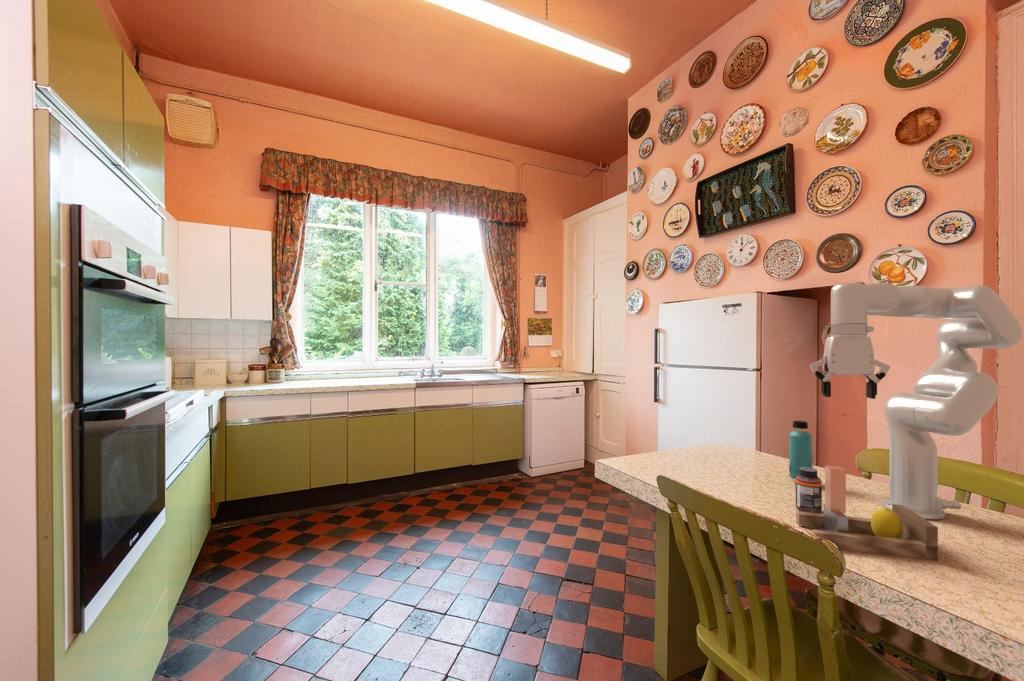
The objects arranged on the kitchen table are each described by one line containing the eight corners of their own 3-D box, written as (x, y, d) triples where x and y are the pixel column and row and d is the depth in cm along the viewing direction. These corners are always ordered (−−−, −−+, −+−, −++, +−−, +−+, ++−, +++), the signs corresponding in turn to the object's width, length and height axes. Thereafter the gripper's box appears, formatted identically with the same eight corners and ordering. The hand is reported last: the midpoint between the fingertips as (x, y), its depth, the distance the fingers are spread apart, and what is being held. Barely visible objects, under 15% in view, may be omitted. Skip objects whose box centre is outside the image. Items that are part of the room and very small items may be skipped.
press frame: (902, 534, 103) (902, 504, 104) (937, 560, 91) (937, 527, 91) (796, 523, 110) (796, 495, 110) (815, 546, 97) (815, 515, 97)
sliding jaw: (835, 529, 105) (835, 463, 105) (850, 544, 98) (850, 473, 98) (821, 528, 106) (821, 462, 106) (834, 542, 98) (835, 471, 98)
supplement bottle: (801, 504, 122) (801, 464, 122) (825, 511, 117) (826, 469, 117) (791, 509, 119) (791, 467, 119) (815, 516, 114) (816, 473, 114)
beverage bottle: (817, 486, 138) (817, 422, 138) (796, 486, 138) (796, 422, 138) (804, 479, 145) (804, 419, 145) (784, 479, 145) (784, 419, 145)
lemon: (909, 549, 96) (909, 512, 96) (884, 548, 96) (884, 512, 96) (888, 537, 102) (888, 503, 102) (864, 537, 102) (864, 503, 102)
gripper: (881, 331, 114) (881, 397, 114) (805, 331, 119) (804, 394, 119) (897, 330, 107) (897, 400, 107) (815, 331, 112) (815, 397, 112)
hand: (848, 397), depth 113 cm, fingers open, 9 cm apart
